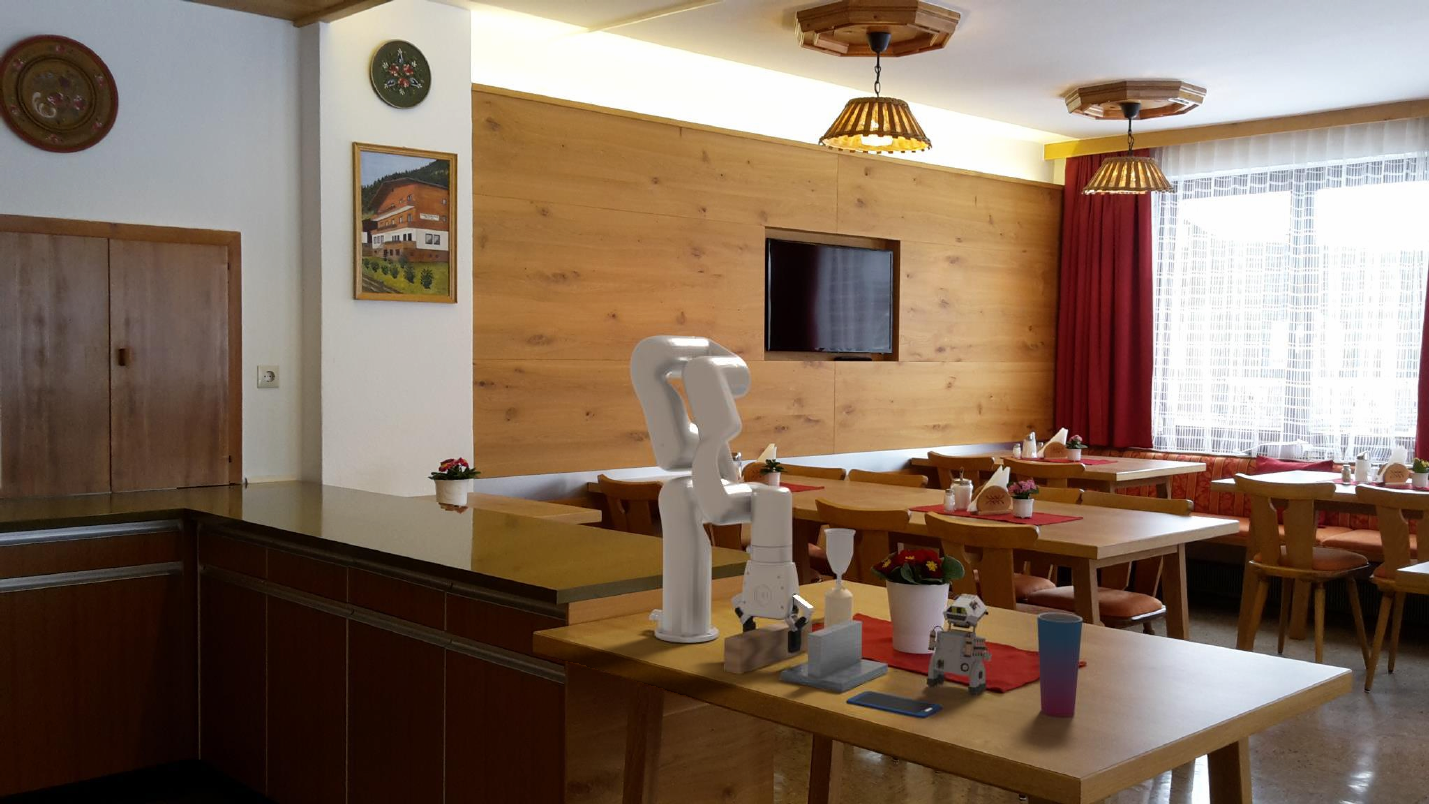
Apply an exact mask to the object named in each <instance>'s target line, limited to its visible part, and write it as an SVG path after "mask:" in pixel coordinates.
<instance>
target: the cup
mask: <svg viewBox="0 0 1429 804" xmlns="http://www.w3.org/2000/svg"><path fill="white" fill-rule="evenodd" d="M1036 619H1037V637H1038V638H1037V640H1038V643H1037V644H1038V664H1039V668H1038V669H1039V690H1040V711H1041V712H1042V713H1043V714H1045V715H1047V716H1053V717H1059V718H1066V717H1067V718H1068V717H1072V716H1074V715H1075V712H1076V711H1075V710H1076V699H1077V688H1078V676H1079V666H1080V665H1079V664H1080V654H1081V642H1082V631H1083V630H1082V628H1083V617H1082V616H1079V615H1076V614H1072V613H1064V612H1042V613H1039V614H1038V615H1037V617H1036Z"/></svg>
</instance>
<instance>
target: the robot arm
mask: <svg viewBox="0 0 1429 804" xmlns="http://www.w3.org/2000/svg"><path fill="white" fill-rule="evenodd" d="M629 373H630V379H631V383H632V386H633V388H634V391H635V394H636V396H637V398H638V401H639V403H640V405H641V408H642V412H643V414H644V415H643V416H644V419H645V423H646V424H645V425H646V427H647V432H648V435H649V440H650V443H651V448H652V452H653V455H654V457H655V461H656V464H657V465H658V467H659V468H660V469H661V470H663V471H665V472H669V473H675V472H676V473H678V472H679V473H680V472H681V473H684V472H691V475H684V476H678V477H675V478H672V479H670V480H668V481H667V482H664V484H663V485H662V487H661V488H660V490H659V494H658V509H659V514H660V520H661V528H662V546H663V549H662V555H663V556H662V559H663V561H662V566H663V567H662V609H658V608H656V609H653V610H652V612H651V613H650V614H649V615H648V619H649V621H651V622H658V626H657V627H656V628H655V629H654V636H655V637H656V638H657V639H660V640H662V641H666V642H672V643H681V644H682V643H686V644H687V643H691V644H692V643H704V642H709V641H713V640H715V639H717V638H718V637H719V629H718V628H717V627H715V626H714V625H713V626H712V545H711V540H710V538H709V535H708V534H707V532H706V530H705V528H704V524H706V523H710V524H712V525H715V526H727V525H728V526H729V525H737V524H738V525H739V524H748V523H750V545H747V546H746V549H745V551H746V554H750V559H749V560H747V561H746V564H745V568H744V574H743V580H742V581H743V582H742V591H741V592H740V593H738V594H736V595H734V596H732V597H731V598H730V601H731V603H732V606H733V608H734V612H735V615H736V616H737V617H738V618H739V622H740V624H741V625H742V633H744V632H748V631H751V630H755V629H757V622H756V621H754V620H755V618H759V619H761V618H762V619H767V620H768V619H769V620H775V621H786V623H787V624H788V626H789V627H790V629H791V630H790V631H788V652H789V653H794V652H797V651H799V650H800V647H801V629H803V628H804V626H805V625H806V624H807V623H808V622H809V620H811V617H812V615H813V612H814V610H815V609H814V607H813V606H812V605H811V604H809V603H808V602H807V601H805V600H804V599H803V598H802V597H801V596H800V588H799V587H800V586H799V578H798V577H799V576H798V572H797V567H796V563H795V562H793V494H792V491H791V490H790V489H789V488H788V487H786V486H781V485H780V486H779V485H767V484H764V483H762V482H757V481H749V482H739V477H738V473H737V470H736V466H735V462H734V458H733V454H732V451H731V447H730V444H729V442H731V441H732V440H733V439H735V438H736V437H738V436H739V434H740V433H741V431H742V429H743V424H742V419H741V418H740V415H739V412H738V408H737V406H736V401H735V399H740V398H743V397H744V396H745V395H747V393H748V392H749V391H750V388H751V385H752V376H751V370H750V369H749V366H748V365H747V363H746V362H745V361H744V360H743V358H741V357H740V356H739V355H737V354H736V353H734V352H732V351H731V350H729V349H727V348H725V347H723V346H722V345H720V343H717V342H715V341H714V340H712V339H710V338H707V337H704V336H695V335H673V334H672V335H671V334H670V335H669V334H667V335H665V334H664V335H663V334H662V335H652V336H648V337H646V338H643V339H642V340H640V341H639V342H638V343H637V344H636V345H635V347H634V348H633V351H632V352H631V357H630V365H629ZM670 378H671V379H673V378H674V379H676V378H677V379H678V378H679V379H681V381H682V386H683V389H684V392H685V396H686V399H687V402H688V405H689V408H690V411H691V415H692V418H693V421H694V423H693V422H692V421H691V419H690V417H689V414H688V412H687V406H686V403H685V401H684V399H683V397H682V395H681V394H680V392H679V391H678V390H677V388H676V387H674V385H673V384H672V383H671V382H670V380H669V379H670ZM800 610H801V611H802V613H801V617H800V616H799V613H800Z"/></svg>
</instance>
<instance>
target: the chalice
mask: <svg viewBox="0 0 1429 804" xmlns="http://www.w3.org/2000/svg"><path fill="white" fill-rule="evenodd" d="M856 531H857V530H854V529H852V528H851V529H848V528H826V529H824V531H823V532H824V534H825V536H826V538H825V539H826V542H825V544H826V545H825V552H826V553H825V554H826V557H827V561H828V564H829V566H830V568H831V570H832V572H833V573H834V574H836V581H835V584H836V587H840V586H843V581H842V575H843V574H845V573H846V572H847V570H848V567H849V566H850V563H851V561H852V558H853V555H854V536H855V534H856Z"/></svg>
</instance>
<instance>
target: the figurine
mask: <svg viewBox="0 0 1429 804" xmlns="http://www.w3.org/2000/svg"><path fill="white" fill-rule="evenodd" d="M987 610H988V607H987V606H986V605H985V603H984V602H983V601H982V600H981V599H980V597H979V596H978V595H976V594H969V593H962V594H961V595H960V594H957V595H956V596H954V597H953V601H952V602H951V604H949V605H948V606H947V607H946V608H945V609H944V610H943V611H942V615H943V618H944V620H945V621H947V624H948V626H947V627H948V628H947V629H946V630H944V628H943V627H942V626H940V625H936V626H934V627H933V629H932V630H930V632H929V640H928V647H927V650H928V651H933V653H932V655H931V656H930V659H929V665H928V674H927V675H928V676H927V678H926V685H928V686H929V687H931V688H932V687H933V688H935V687H937V686H938V685H943V684H944V683H945V681H946V674H945V673H948V674H954V675H957V676H965V677H966V676H967V677H969V686H967V693H968V694H969V695H971V696H977V695H979V693H981V694H982V693H983V692H985V691H986V690H987V682H986V669H985V664H984V662H988V663H989V662H991V661H992V656H993V653H989V651H988V648H987V646H986V640H987V639H986V638H985V637H983V636H978V635H977V633H976V629H977V628H978V622H980V620H981V619H982V618H983V617H984V616H985V615H986V616H988V615H989V611H987ZM952 627H954V628H952ZM971 627H972V631H971V630H970V631H969V629H970V628H971ZM936 628H940V630H938V631H936V630H935V629H936ZM956 628H960V629H956ZM963 629H967V630H963ZM983 659H984V662H983Z"/></svg>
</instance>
